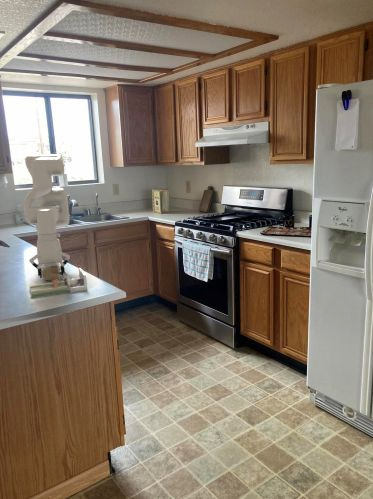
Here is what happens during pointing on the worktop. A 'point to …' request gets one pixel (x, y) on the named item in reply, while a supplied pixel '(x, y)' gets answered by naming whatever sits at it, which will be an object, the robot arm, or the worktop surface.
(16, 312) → the worktop surface
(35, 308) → the worktop surface
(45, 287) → the field
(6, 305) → the worktop surface
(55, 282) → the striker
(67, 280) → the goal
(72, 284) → the ball
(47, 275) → the ceramic mug
